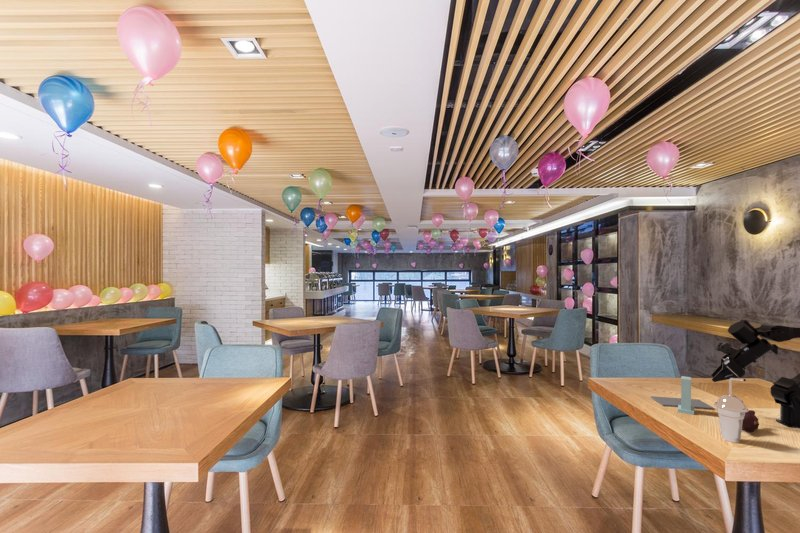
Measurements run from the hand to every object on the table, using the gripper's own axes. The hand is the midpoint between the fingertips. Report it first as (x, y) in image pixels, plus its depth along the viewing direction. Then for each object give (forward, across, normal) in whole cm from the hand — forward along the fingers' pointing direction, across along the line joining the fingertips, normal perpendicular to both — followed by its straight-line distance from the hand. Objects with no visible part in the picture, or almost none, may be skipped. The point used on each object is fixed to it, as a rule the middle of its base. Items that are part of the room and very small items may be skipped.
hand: (712, 378), depth 156 cm
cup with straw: (+7, +27, +12) cm, 30 cm away
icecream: (+4, +12, +16) cm, 20 cm away
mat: (+16, -11, +3) cm, 20 cm away
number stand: (+15, 0, +4) cm, 16 cm away
